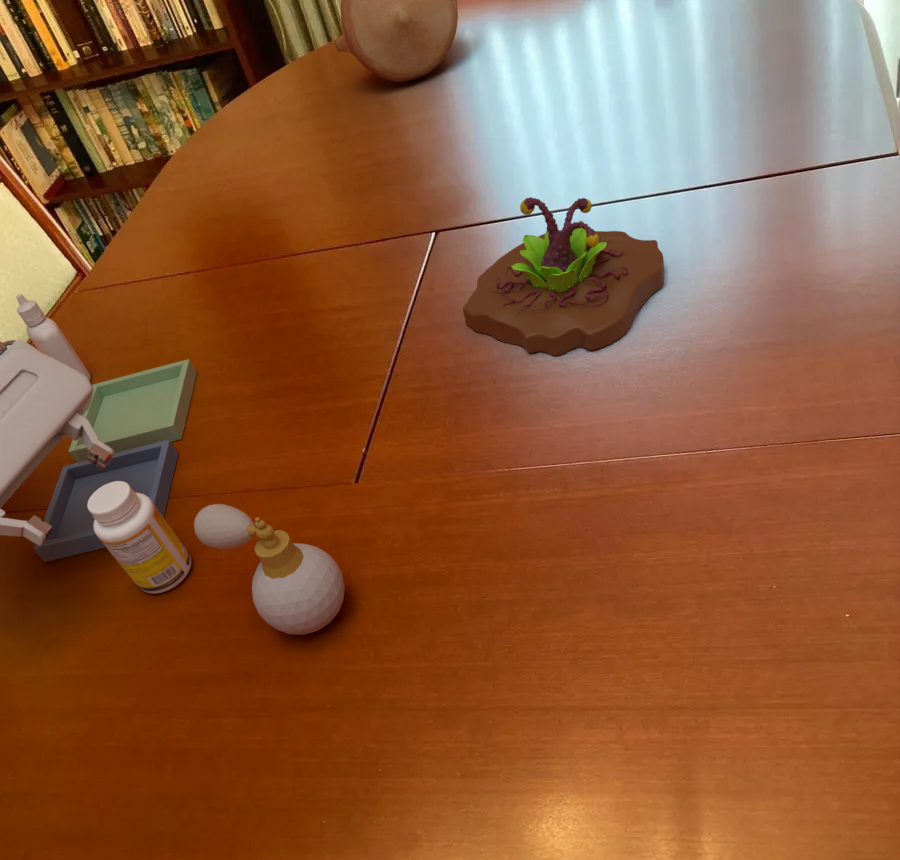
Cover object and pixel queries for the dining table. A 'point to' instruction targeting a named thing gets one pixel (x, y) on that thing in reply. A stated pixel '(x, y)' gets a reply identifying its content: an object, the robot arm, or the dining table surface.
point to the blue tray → (79, 481)
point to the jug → (398, 35)
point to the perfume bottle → (279, 570)
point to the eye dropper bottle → (48, 335)
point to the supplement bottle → (138, 537)
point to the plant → (565, 286)
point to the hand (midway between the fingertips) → (79, 497)
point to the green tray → (139, 408)
